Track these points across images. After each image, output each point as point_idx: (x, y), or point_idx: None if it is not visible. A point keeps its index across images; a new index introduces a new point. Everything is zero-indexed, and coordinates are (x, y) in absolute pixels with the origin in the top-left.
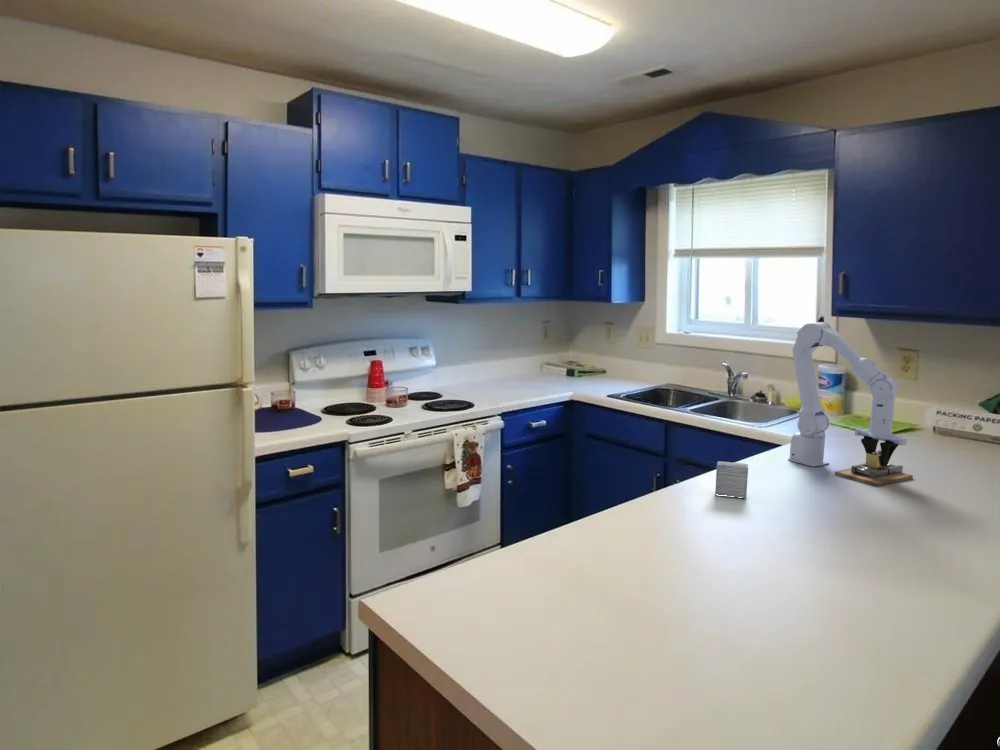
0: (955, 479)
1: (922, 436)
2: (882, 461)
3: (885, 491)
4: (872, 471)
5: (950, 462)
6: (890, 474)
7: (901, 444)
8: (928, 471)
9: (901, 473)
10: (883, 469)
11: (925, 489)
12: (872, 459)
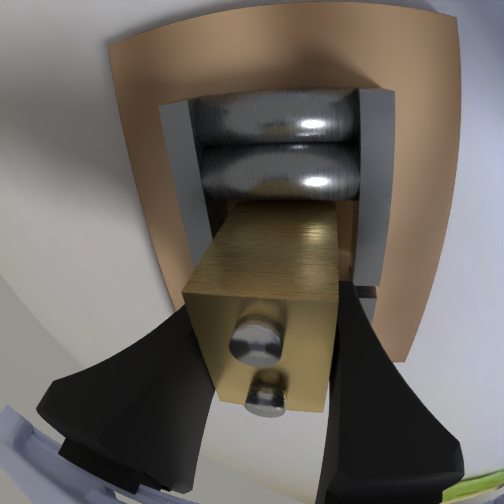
0: None
1: None
2: None
3: (61, 37)
4: (174, 106)
5: (284, 469)
6: None
7: (4, 412)
8: (250, 420)
9: None
10: (195, 241)
11: (66, 238)
12: (259, 259)
